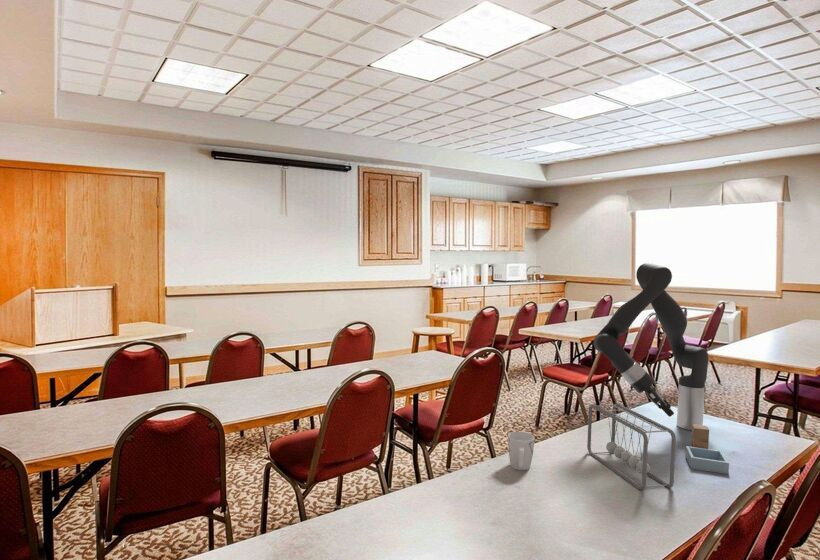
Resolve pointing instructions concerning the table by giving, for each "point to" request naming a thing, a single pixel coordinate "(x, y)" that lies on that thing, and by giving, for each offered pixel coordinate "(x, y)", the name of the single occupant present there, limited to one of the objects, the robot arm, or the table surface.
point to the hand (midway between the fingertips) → (670, 411)
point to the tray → (707, 460)
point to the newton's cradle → (626, 455)
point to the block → (700, 436)
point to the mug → (520, 449)
